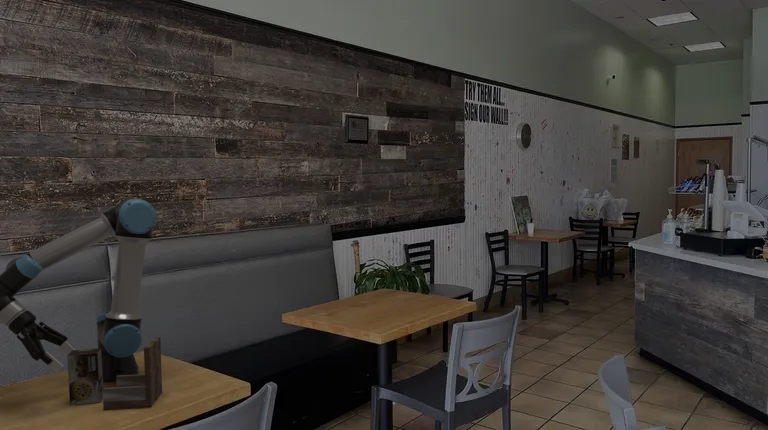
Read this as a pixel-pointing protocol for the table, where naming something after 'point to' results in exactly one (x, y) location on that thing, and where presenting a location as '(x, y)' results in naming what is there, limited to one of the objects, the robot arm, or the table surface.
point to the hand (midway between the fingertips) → (69, 363)
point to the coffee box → (85, 376)
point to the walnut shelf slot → (138, 383)
